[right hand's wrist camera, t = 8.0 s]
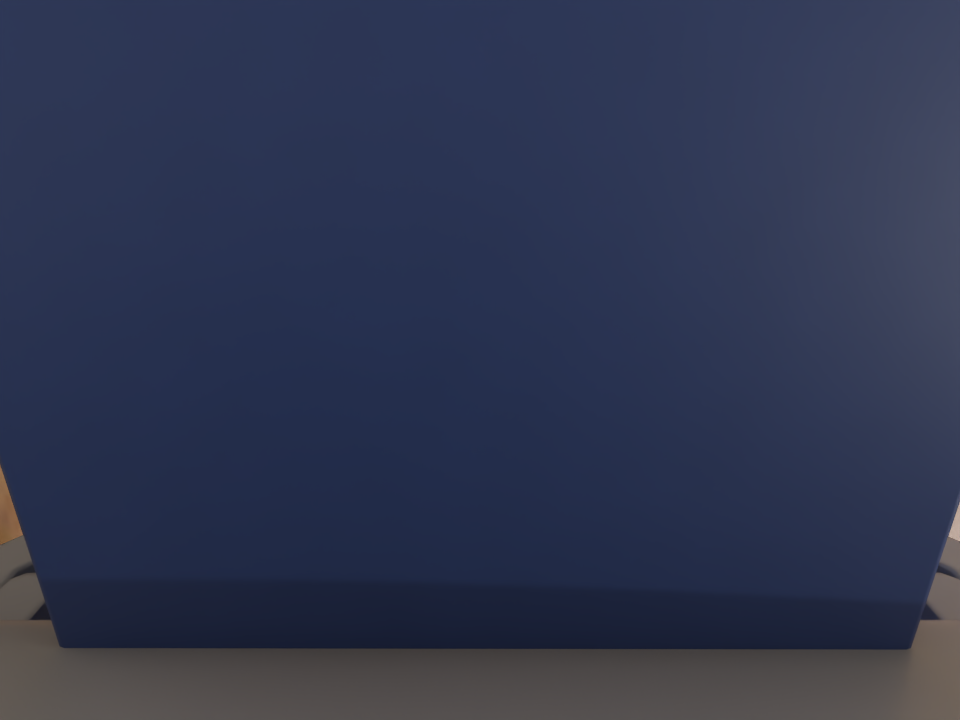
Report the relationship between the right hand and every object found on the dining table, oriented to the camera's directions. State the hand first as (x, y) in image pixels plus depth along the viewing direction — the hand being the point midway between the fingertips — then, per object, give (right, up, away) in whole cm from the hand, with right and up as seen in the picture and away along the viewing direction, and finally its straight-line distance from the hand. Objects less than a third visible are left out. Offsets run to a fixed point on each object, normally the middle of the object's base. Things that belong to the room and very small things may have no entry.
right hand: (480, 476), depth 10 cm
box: (0, +10, +3) cm, 10 cm away
